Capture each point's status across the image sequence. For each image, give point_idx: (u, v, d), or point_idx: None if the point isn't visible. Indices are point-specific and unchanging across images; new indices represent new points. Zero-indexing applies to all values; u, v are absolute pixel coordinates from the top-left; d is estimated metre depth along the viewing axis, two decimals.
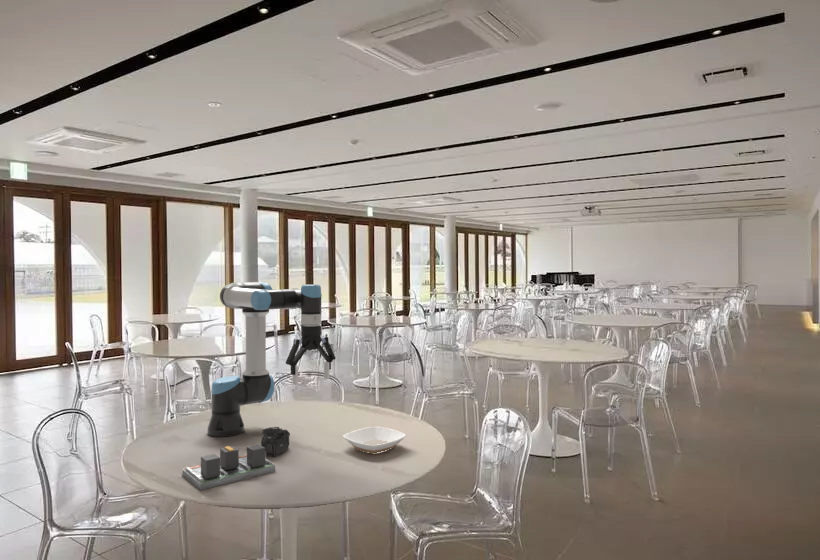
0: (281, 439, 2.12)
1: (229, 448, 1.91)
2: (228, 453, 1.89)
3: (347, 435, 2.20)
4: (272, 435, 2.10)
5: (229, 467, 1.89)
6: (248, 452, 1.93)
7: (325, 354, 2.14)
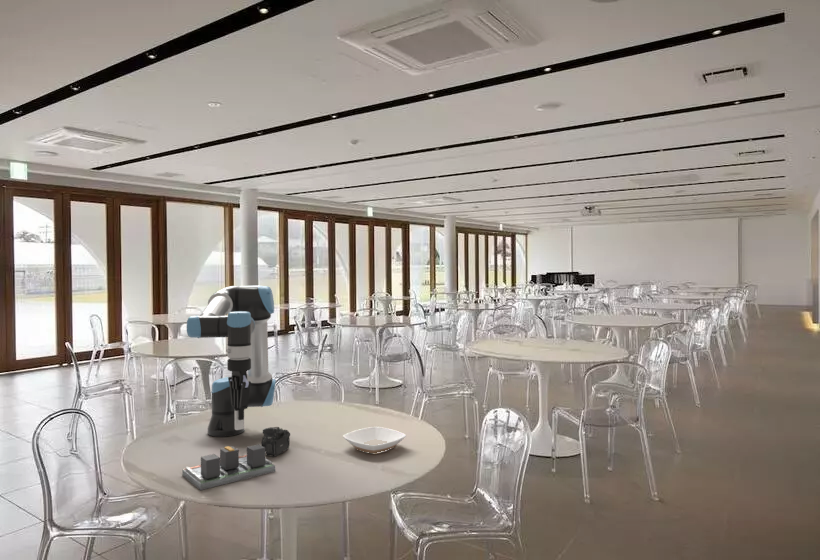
0: (281, 439, 2.12)
1: (229, 448, 1.91)
2: (228, 453, 1.89)
3: (347, 435, 2.20)
4: (272, 435, 2.10)
5: (229, 467, 1.89)
6: (248, 452, 1.93)
7: (237, 398, 1.83)
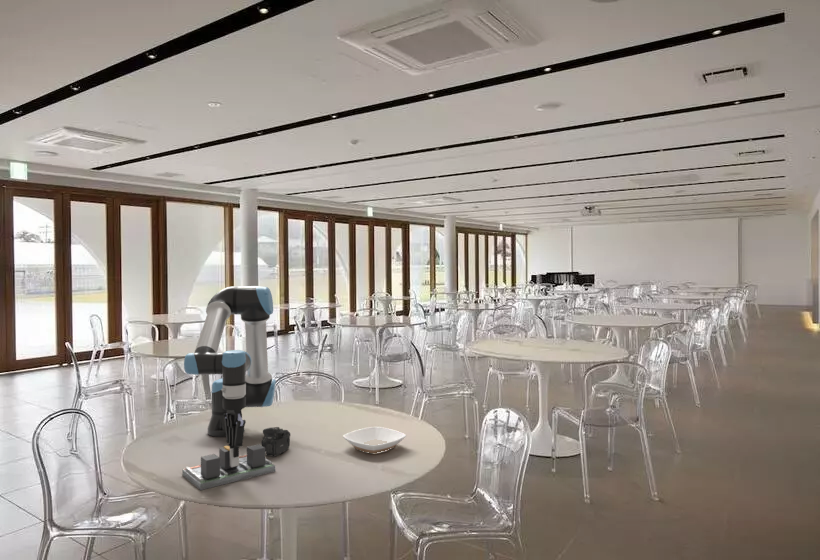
0: (281, 439, 2.12)
1: (228, 447, 1.92)
2: (227, 452, 1.89)
3: (347, 435, 2.20)
4: (272, 435, 2.10)
5: (228, 467, 1.90)
6: (248, 452, 1.93)
7: (232, 436, 1.87)
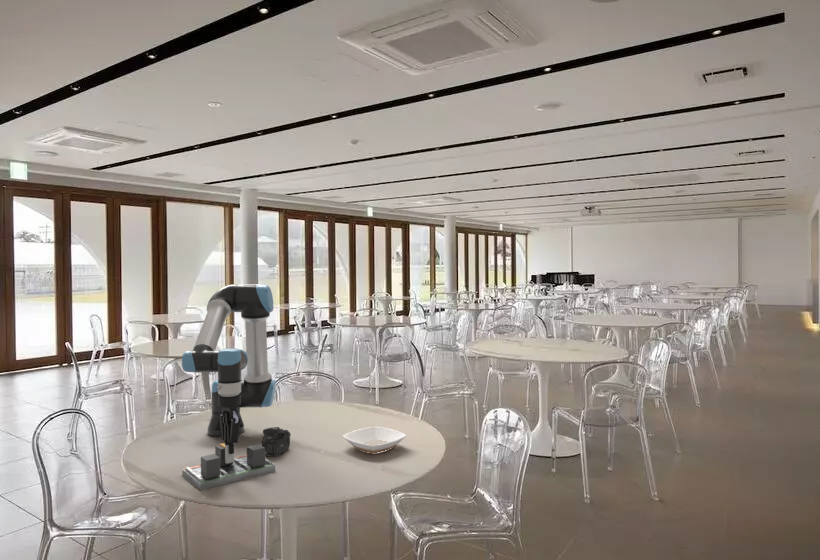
0: (281, 439, 2.12)
1: (224, 445, 1.94)
2: (223, 450, 1.92)
3: (347, 435, 2.20)
4: (272, 435, 2.10)
5: (224, 464, 1.92)
6: (248, 452, 1.93)
7: (227, 433, 1.89)
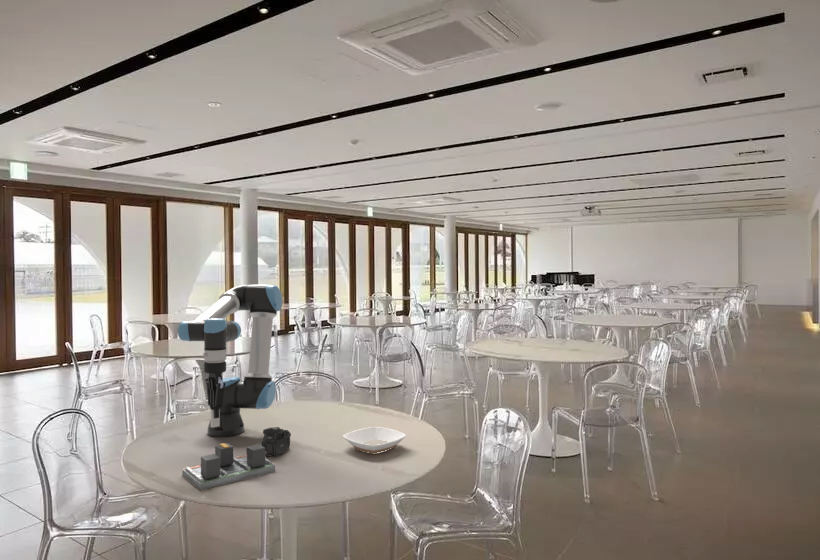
0: (281, 439, 2.12)
1: (224, 445, 1.94)
2: (223, 450, 1.92)
3: (347, 435, 2.20)
4: (272, 436, 2.10)
5: (224, 464, 1.92)
6: (248, 452, 1.93)
7: (213, 398, 1.99)
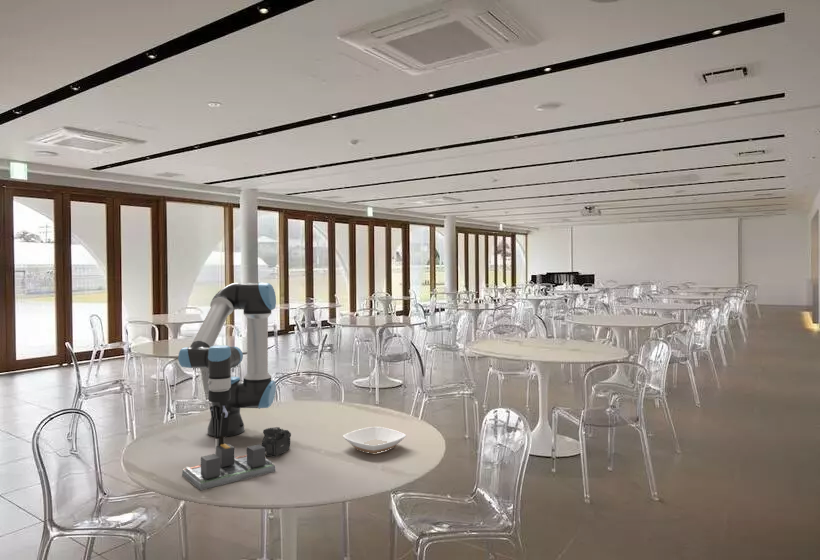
0: (282, 440, 2.12)
1: (225, 446, 1.94)
2: (224, 450, 1.91)
3: (347, 435, 2.20)
4: (272, 436, 2.09)
5: (225, 465, 1.92)
6: (248, 452, 1.93)
7: (217, 427, 1.96)
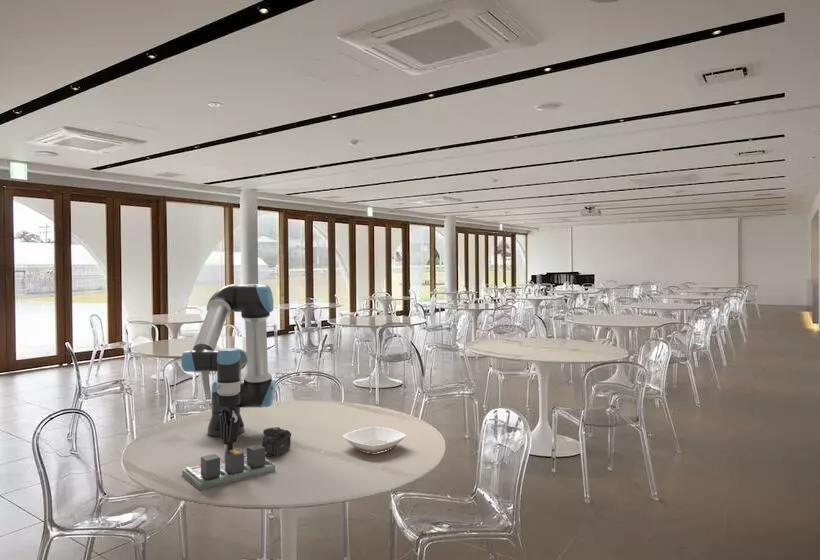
0: (282, 440, 2.11)
1: (234, 451, 1.88)
2: (233, 456, 1.85)
3: (347, 435, 2.20)
4: (272, 436, 2.09)
5: (235, 471, 1.86)
6: (248, 452, 1.93)
7: (226, 432, 1.90)
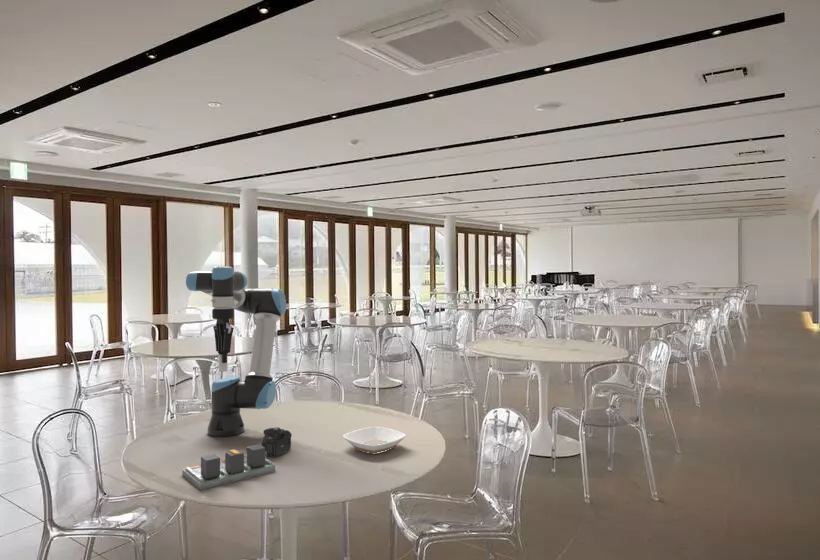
0: (282, 440, 2.11)
1: (234, 451, 1.88)
2: (233, 456, 1.85)
3: (347, 435, 2.20)
4: (272, 436, 2.09)
5: (235, 471, 1.86)
6: (248, 452, 1.93)
7: (221, 343, 2.05)
